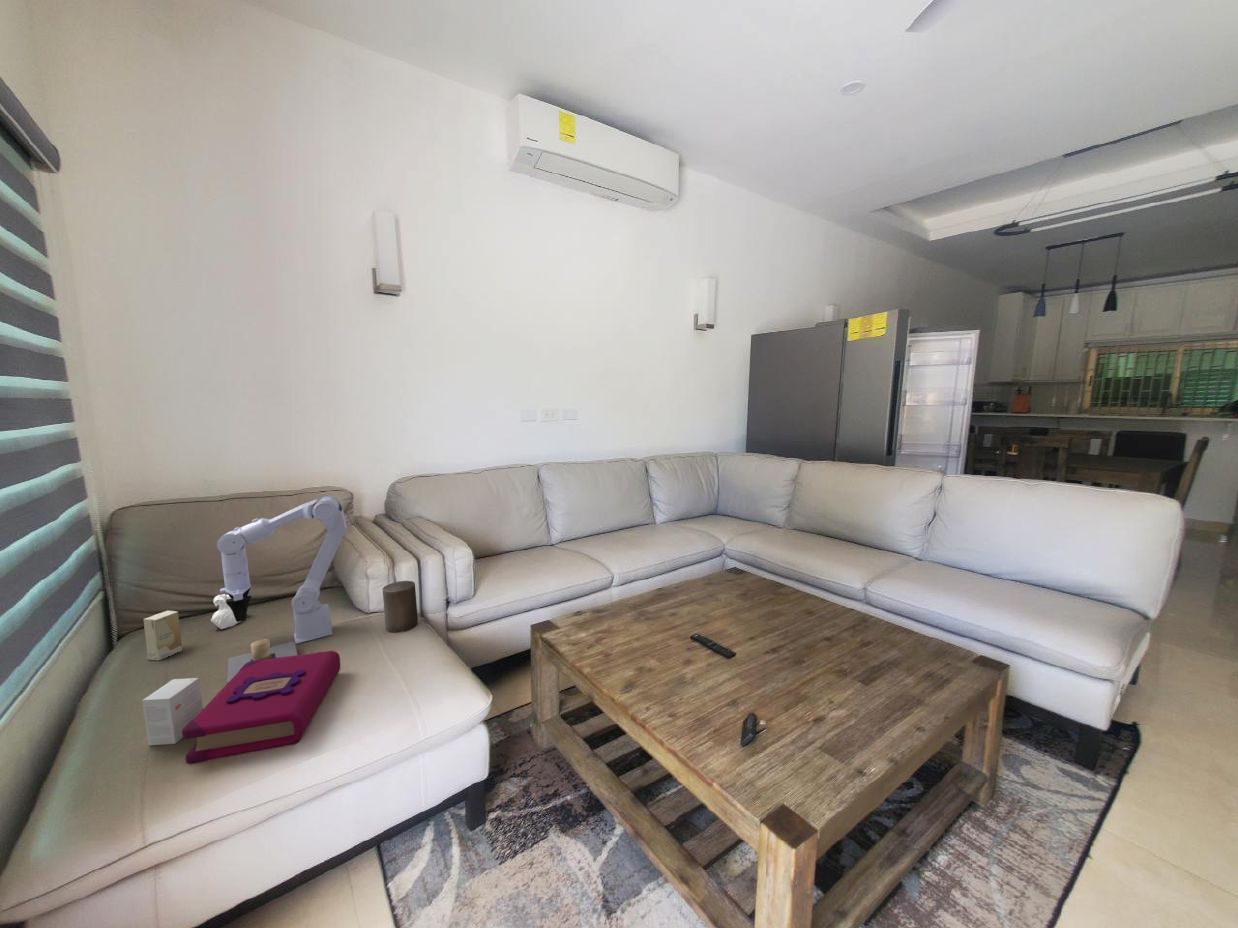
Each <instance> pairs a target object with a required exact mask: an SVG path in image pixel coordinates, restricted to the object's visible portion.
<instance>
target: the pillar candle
mask: <svg viewBox="0 0 1238 928" xmlns="http://www.w3.org/2000/svg"><path fill="white" fill-rule="evenodd" d="M382 596H383V597H382V598H383V609H384V610H383V611H384V620H385V621H384V623H385V631H386V632H388V633H393V634H397V633H402V632H403V633H404V632H408V631H411V630H413V629H414V628H416V627H417V626H418V625H419V617H418V606H417V602H418V601H417V593H416V583H415V581H412V580H399V581H394V582H390V583H388V584H387V585H384V586H383V588H382Z"/></svg>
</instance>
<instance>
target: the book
mask: <svg viewBox="0 0 1238 928" xmlns="http://www.w3.org/2000/svg"><path fill="white" fill-rule="evenodd" d="M340 670H341V657H340V655H339V653H338V652H337V651H336V650H333V649H332V650H326V651H325V650H324V651H320V652H319V651H318V652H312V653H311V652H310V653H304V654H297V655H295V656H288V657H281V658H273V659H266V660H264V659H261V660H254V661H250V662H248V663H246V664H245V665H244V666H243V667H242V668H241V669H240V670H239V672H238V673H237V674H236V675H235V676H234V677H233V678H232V679H231V680H230V681H229V682H228V683H227V682H226V684H225V685H224V687H222V689H220V691H219V692H218V693H217V694H216V695H215V696H214V697H213V698H212V699H211V700H210V701H209V702H208V704H206V705H205V706H204V707H203V710H202V711H201V712H200V713H199V714H198V715H197V716H196V717H195V718H194V719H193V720H191V721H190V722H189V723H188V724H187V725H186V726H185V727H184V728H183V730H182V737H183V738H182V739H184V740H191V739H196V741H197V743H195V744H194V745H193V746H192V747H191V748H190V750H189V751H187V753H186V754H185V762H186V764H190V765H191V764H196V763H201V762H207V761H210V760H211V761H212V760H216V759H221V758H225V757H227V758H228V757H232V756H233V757H234V756H237V755H242V754H243V755H244V754H249V753H250V754H251V753H255V752H260V751H267V750H272V749H276V748H282V747H288V746H295V745H297V744H298V743H299V742H300V740H301V739H302V737H303V735H304V733H305V732H306V730H307V728H308V727H309V725H310V723H311V722H312V719H314V717H315V714H317V713H316V712H317V710H318V709H319V707H320V706H321V704H322V702H323V701H324V698H325V696H326V695H327V693H328V691H329V690H330V688H331V686H332V685H333V683H334V681H335V679H336V677H337V676H338V674H339V672H340Z"/></svg>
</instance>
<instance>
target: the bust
mask: <svg viewBox="0 0 1238 928" xmlns="http://www.w3.org/2000/svg"><path fill="white" fill-rule="evenodd" d="M226 599H231V598H230V596H229V595H228V594H225V593H222V594H218V595H216V596H215V597H214V598H213V604H214V606H215V607H218V609H217V611H215V612H214V613H213V614H212V617H211V619H210V622H212V624H214V625H215V626H216V627H218V628H219V630H223V629H227V628H231V627H232V628H233V626H235V625H237V624H239V623H241V622H243V621H239V622H237V621H236V619H235V617H234V614H233V612H232V610H231V608H230V607H229V606H228V605H227V603H226Z"/></svg>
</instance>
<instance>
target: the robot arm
mask: <svg viewBox="0 0 1238 928" xmlns="http://www.w3.org/2000/svg"><path fill="white" fill-rule="evenodd" d="M313 518H315V519H316V520H317V521H319V522H320V523H321V524H322V525H323V526H324V527H325V529H326V531H327V533H326V535H325V538H324V539H323V541H322V544H321V546H320V548H319V551H318V552H317V555H316V557H315V559H314V561H313V563H312V565H311V568H310V570H309V572H308V573H307V576H306V578H305V581H304V582H303V584H302V585H301V586H299V588H298V589H297V591H296V594H295V596H293V598H291V599H292V600H291V601H290V602H291V604H290V605H291V608H292V609H293V610H292V611H293V620H294V621H293V622H294V630H295V632H294V633H293V638H294V643H295V645H297V644H298V645H299V644H302V643H305V642H309V641H312V640H317V639H319V638H324V637H327V636H330V635H333V632H332V631H333V630H332V625H333V624H332V621H331V614H330V613H331V611H330V606H329V604H328V603H325V604H323V603H322V604H321V602H320V601H319V597H320V595H321V585H322V584H323V580H324V579H325V577H326V574H327V572H328V570H329V568H330V566H331V563H332V561H333V560H334V556H335V555H336V552H337V550H338V548H339V546H340V544H341V542H342V539H343V537H344V535H345V533H346V531H347V529H348V528H347V527H348V525H347V521H346V517H345V514H344V506H343V505H342V503H341V502H340V500H338V498H337V497H335V496H332V495H327V496H326V495H325V496H322V497H321V498H319V499H318V498H317V499H314V500H311V501H308V502H305V503H303V504H300V505H298V506H296V507H293V508H292V509H290V510H288V511H285V512H283V513H282V514H279V515H276V516H275V517H272V518H270V519H269V518H265V517H261V518H258V517H256V518H254V519H252V520H251V522H250V523H248V524H246V525H243V526H241V527H240V526H237V527H235V528H234V529H233V530H230V531H227V533H225V534H223V535H222V536H221V537H219V538H218V540H217V542H216V548H217V550H218V551H219V552H220V553H221V555H220V556H221V565H222V573H223V580H224V587H222V588H219V589H220V590H219V592H220V593H222V594H224V593H226V595H229V596H230V598H231V599H226V603H227V605H228V606H229V607H230V608H231V610H232V612H233V614H234V617H235V619H236V621H237V622H239V621H242V622H243V621H246V620H247V616H248V607H249V603H250V601H251V598H252V595H249V593H250V591H251V587H252V584H251V581H250V579H251V578H250V571H249V562H248V555H247V551H246V550H247V549H246V546H251V545H253V544H255V543H257V542H259V541H261V540H264V539H266V538H269V537H270V536H273V535H274V533H275V531H276V529H278V528H280V527H281V528H282V527H284V526H286V525H289V524H290V523H294V522H295V521H298V520H300V519H307V520H313ZM239 623H240V622H239Z"/></svg>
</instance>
